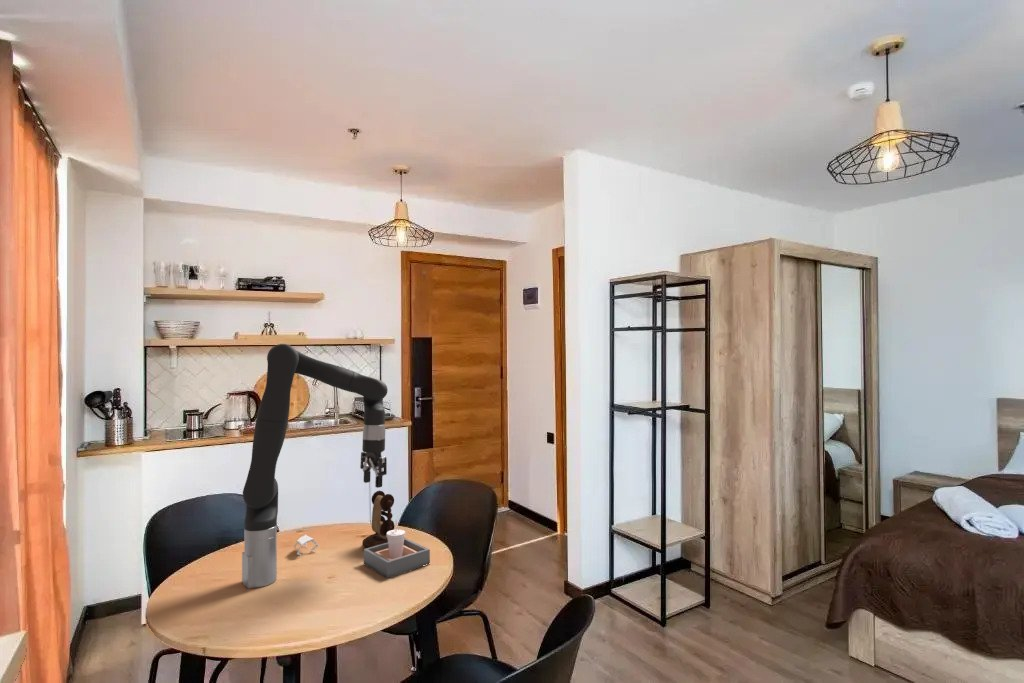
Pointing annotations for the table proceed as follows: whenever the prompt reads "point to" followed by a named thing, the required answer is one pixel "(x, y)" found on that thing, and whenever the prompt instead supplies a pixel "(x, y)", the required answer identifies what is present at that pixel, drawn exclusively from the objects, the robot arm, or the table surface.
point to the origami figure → (305, 540)
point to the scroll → (380, 519)
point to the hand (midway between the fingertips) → (372, 484)
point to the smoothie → (395, 542)
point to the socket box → (389, 568)
